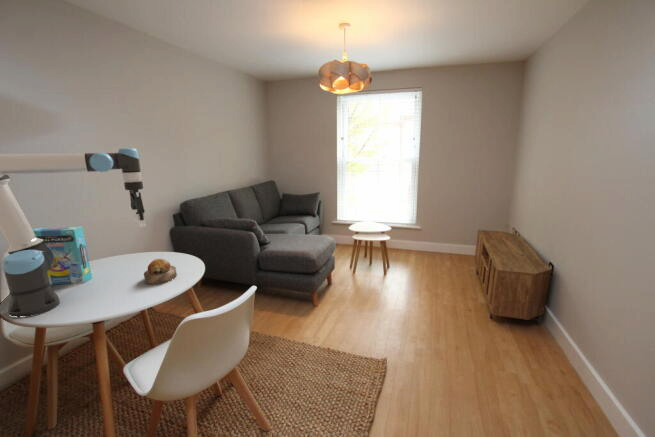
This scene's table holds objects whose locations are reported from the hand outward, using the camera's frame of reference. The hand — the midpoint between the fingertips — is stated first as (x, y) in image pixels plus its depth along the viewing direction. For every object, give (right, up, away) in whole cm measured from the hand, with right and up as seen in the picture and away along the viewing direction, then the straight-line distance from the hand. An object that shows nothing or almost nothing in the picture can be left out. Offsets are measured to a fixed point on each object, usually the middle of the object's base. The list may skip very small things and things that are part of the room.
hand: (139, 224), depth 151 cm
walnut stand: (+10, -27, +1) cm, 29 cm away
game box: (-36, -28, -1) cm, 46 cm away
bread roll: (+10, -23, 0) cm, 25 cm away
